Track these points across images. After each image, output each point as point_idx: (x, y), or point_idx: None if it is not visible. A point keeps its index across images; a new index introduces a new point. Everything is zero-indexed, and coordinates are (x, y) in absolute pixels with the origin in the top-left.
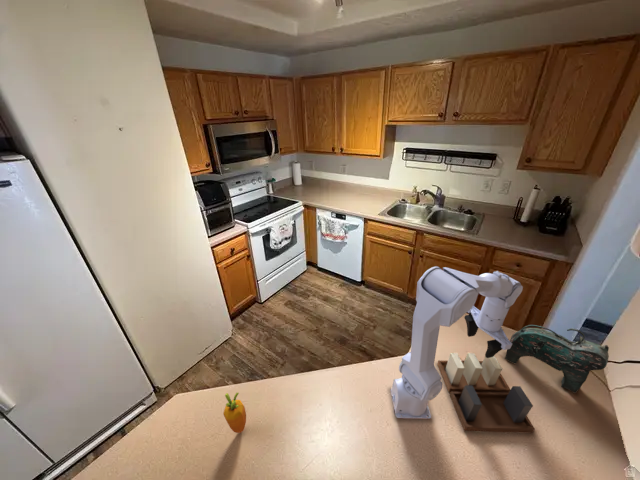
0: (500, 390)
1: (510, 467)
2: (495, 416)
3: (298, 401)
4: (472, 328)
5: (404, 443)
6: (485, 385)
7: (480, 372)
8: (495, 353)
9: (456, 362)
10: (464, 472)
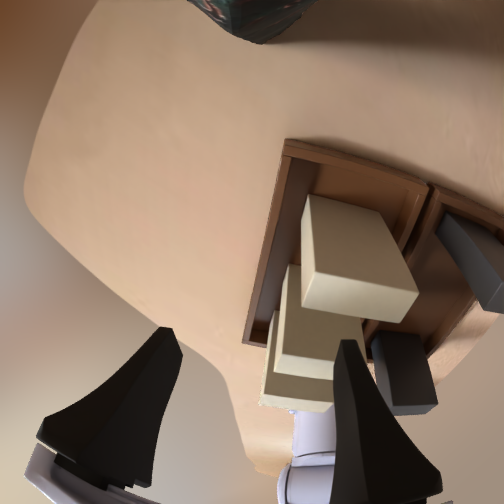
0: (412, 223)
1: (494, 312)
2: (443, 282)
3: (273, 452)
4: (152, 409)
5: None
6: None
7: (363, 342)
8: (366, 373)
9: (303, 409)
10: (448, 371)
